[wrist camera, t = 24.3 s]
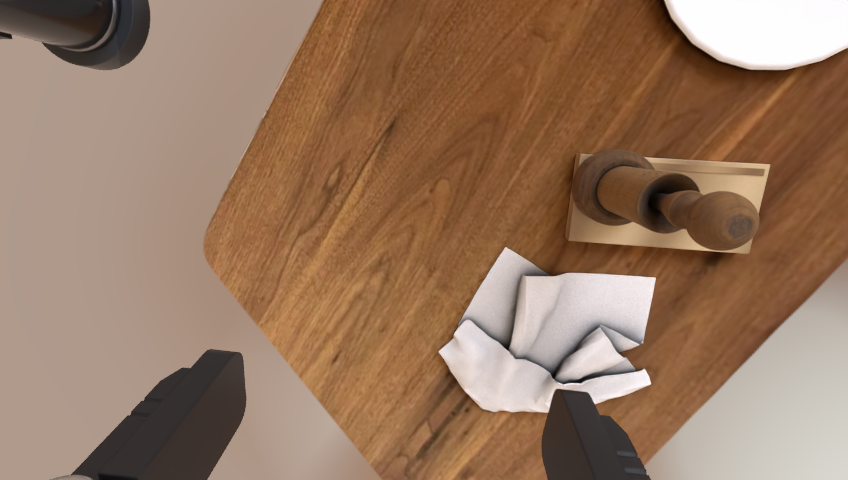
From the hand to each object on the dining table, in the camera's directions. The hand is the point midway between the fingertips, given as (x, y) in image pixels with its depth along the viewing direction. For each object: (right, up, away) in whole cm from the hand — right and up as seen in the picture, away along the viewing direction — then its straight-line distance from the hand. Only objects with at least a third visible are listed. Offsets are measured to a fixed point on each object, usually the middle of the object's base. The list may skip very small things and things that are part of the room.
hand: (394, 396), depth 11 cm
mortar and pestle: (+17, +9, +27) cm, 33 cm away
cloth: (+14, -6, +32) cm, 35 cm away
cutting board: (+23, +8, +28) cm, 37 cm away
